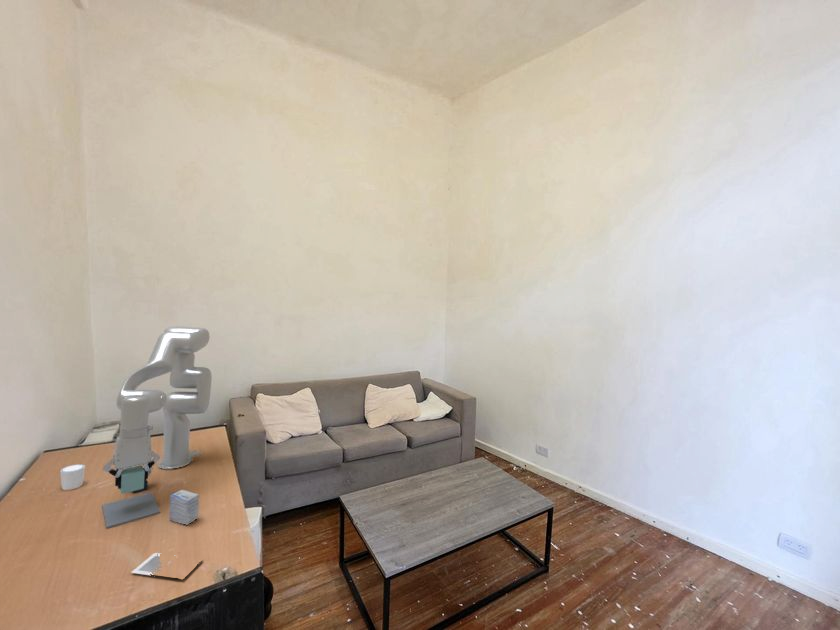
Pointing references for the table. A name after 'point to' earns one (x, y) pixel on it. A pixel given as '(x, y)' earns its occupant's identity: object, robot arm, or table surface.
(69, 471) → the white cylinder
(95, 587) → the table surface
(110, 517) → the mat
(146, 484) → the watch
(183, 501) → the medicine box
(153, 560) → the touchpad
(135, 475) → the cube
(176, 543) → the table surface
